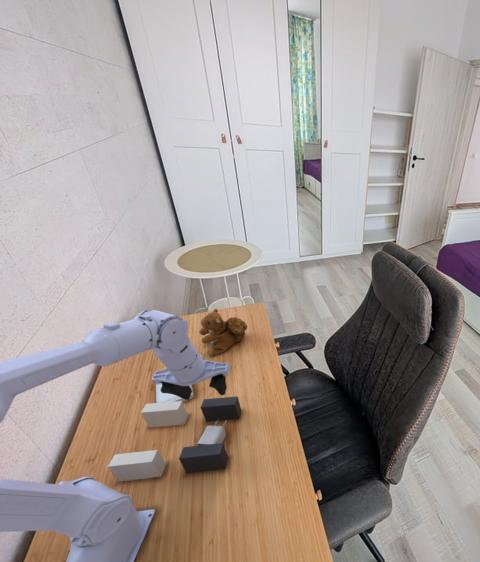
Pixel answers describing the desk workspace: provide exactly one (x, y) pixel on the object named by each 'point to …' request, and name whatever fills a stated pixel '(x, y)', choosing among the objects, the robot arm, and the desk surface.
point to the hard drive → (169, 395)
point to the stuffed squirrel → (221, 331)
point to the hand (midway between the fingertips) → (206, 393)
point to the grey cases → (213, 453)
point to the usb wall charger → (213, 435)
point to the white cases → (151, 461)
